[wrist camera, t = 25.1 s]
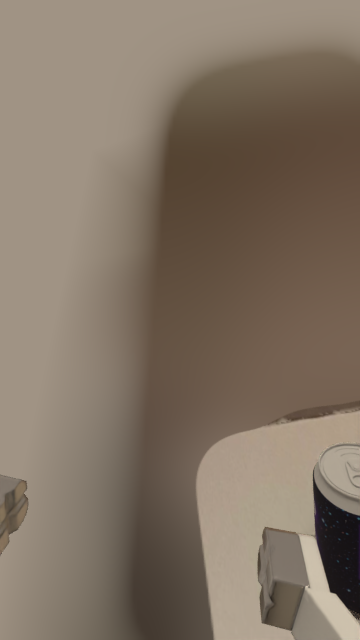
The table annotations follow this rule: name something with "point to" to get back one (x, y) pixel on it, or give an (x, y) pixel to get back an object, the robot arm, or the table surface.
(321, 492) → the beverage can
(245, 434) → the table surface
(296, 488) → the table surface
